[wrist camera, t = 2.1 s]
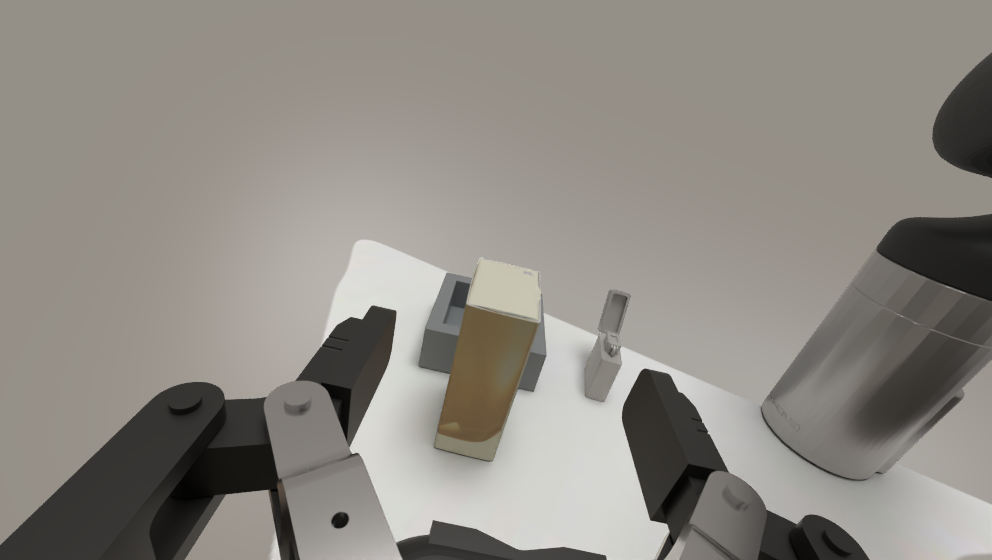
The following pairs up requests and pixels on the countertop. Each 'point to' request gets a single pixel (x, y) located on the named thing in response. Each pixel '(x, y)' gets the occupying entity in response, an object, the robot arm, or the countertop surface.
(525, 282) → the skincare box
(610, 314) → the lighter
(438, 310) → the holder
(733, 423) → the countertop surface
